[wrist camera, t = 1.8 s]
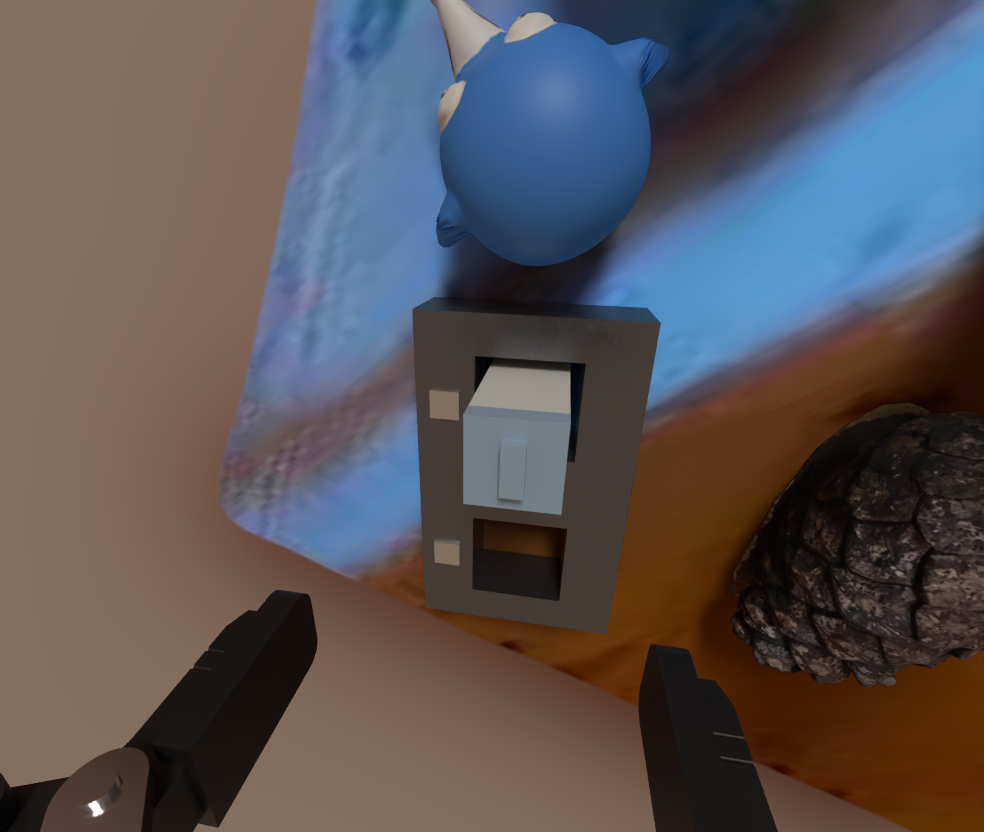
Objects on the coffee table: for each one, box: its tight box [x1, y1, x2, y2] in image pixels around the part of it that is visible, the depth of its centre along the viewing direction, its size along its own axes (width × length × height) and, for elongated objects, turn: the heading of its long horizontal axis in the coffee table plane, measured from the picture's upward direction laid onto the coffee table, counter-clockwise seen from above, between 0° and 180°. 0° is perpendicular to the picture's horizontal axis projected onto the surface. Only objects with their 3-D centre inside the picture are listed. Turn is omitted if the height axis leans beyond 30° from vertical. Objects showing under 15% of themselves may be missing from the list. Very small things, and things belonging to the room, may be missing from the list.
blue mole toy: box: [430, 0, 670, 266], centre depth 19 cm, size 12×12×8 cm
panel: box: [412, 297, 661, 634], centre depth 28 cm, size 12×20×4 cm, turn 178°
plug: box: [463, 357, 571, 515], centre depth 23 cm, size 4×4×11 cm
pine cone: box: [730, 403, 984, 688], centre depth 23 cm, size 10×18×10 cm, turn 163°
